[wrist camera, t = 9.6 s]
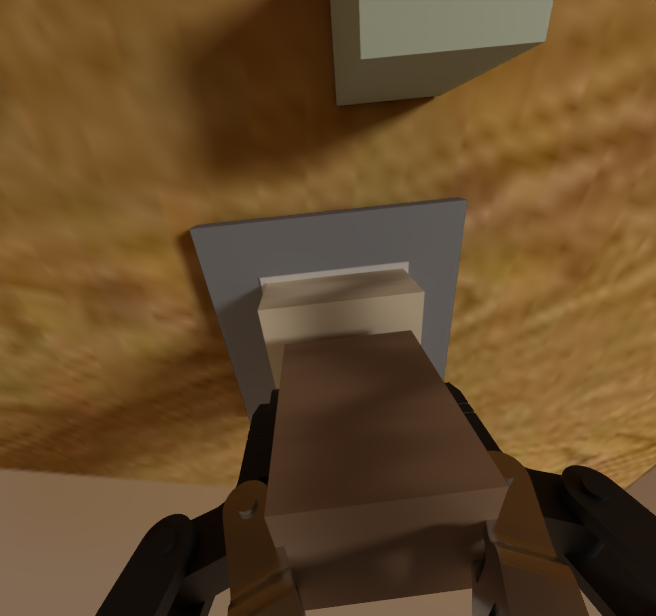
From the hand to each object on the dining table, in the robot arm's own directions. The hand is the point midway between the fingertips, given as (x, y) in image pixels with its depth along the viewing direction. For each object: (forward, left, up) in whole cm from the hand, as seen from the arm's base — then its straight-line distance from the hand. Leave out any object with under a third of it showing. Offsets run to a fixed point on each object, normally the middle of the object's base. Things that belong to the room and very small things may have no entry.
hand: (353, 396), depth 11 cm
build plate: (0, 0, -6) cm, 6 cm away
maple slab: (0, 0, -5) cm, 5 cm away
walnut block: (0, 0, -1) cm, 1 cm away
